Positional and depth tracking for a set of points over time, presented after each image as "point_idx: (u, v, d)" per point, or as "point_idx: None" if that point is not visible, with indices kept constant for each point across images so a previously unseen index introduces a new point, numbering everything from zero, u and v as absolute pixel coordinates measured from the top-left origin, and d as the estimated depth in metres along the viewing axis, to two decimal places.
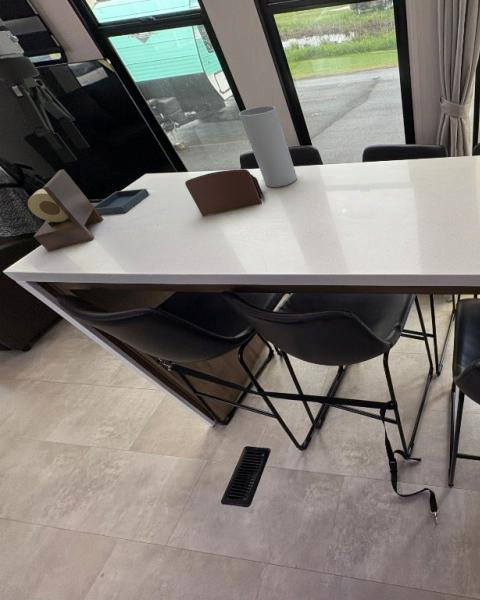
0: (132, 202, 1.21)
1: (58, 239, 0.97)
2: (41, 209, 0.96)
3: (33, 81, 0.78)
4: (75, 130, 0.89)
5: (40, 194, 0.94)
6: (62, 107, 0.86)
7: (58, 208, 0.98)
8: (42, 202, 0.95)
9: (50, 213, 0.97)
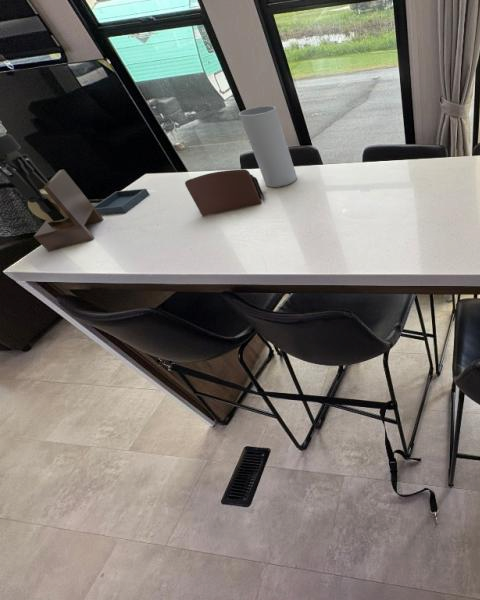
0: (132, 202, 1.21)
1: (58, 239, 0.97)
2: (41, 209, 0.96)
3: (15, 153, 0.90)
4: None
5: None
6: (43, 178, 0.97)
7: (58, 208, 0.98)
8: None
9: None
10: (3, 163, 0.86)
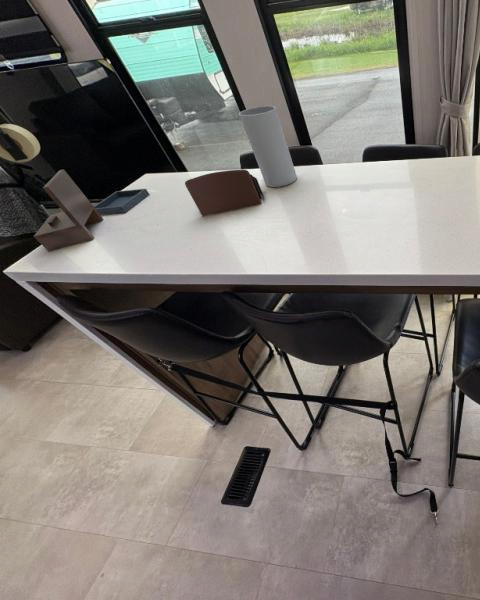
0: (132, 202, 1.21)
1: (58, 239, 0.97)
2: (1, 147, 0.88)
3: None
4: None
5: None
6: (4, 112, 0.89)
7: (20, 146, 0.89)
8: None
9: None
10: None
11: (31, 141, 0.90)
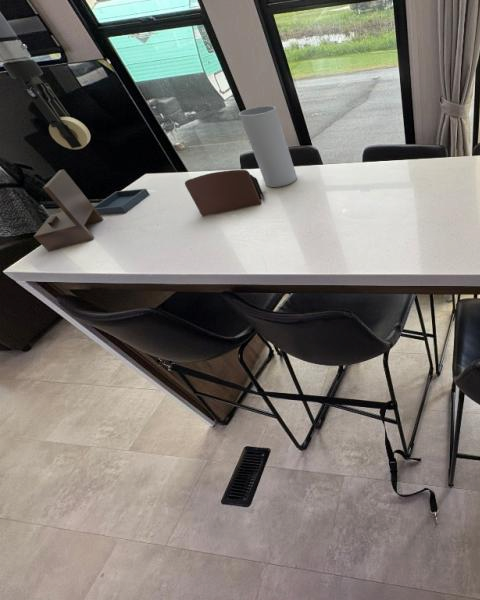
0: (132, 202, 1.21)
1: (58, 239, 0.97)
2: (61, 136, 1.04)
3: (38, 79, 0.98)
4: None
5: None
6: (62, 107, 1.06)
7: (76, 135, 1.06)
8: None
9: None
10: (28, 85, 0.94)
11: (85, 131, 1.07)
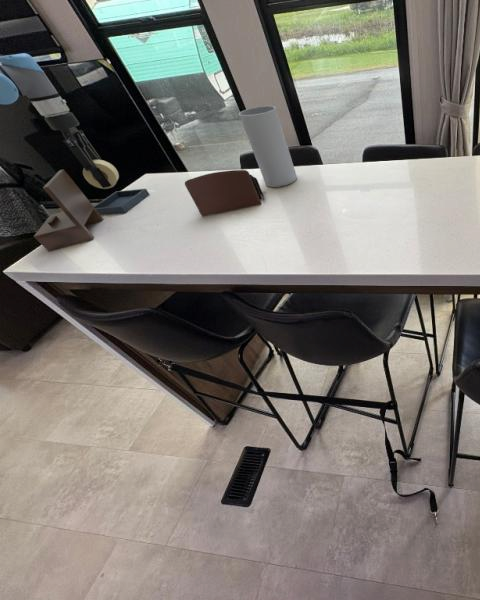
0: (132, 202, 1.21)
1: (58, 239, 0.97)
2: (93, 177, 1.14)
3: (74, 128, 1.08)
4: None
5: None
6: (94, 151, 1.15)
7: (107, 176, 1.16)
8: None
9: None
10: (66, 136, 1.04)
11: (114, 172, 1.17)
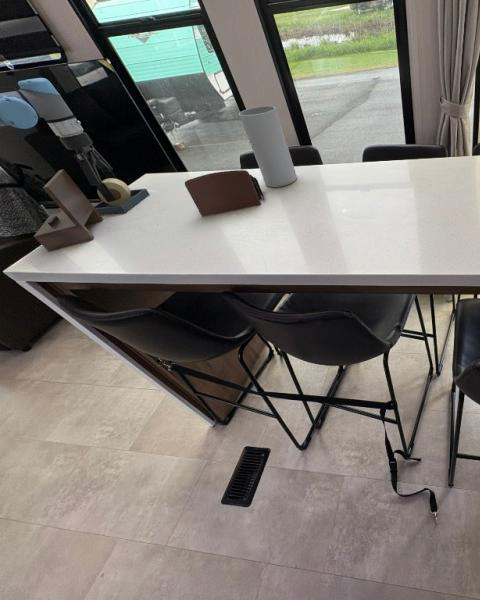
0: (132, 202, 1.21)
1: (58, 239, 0.97)
2: None
3: (87, 147, 1.12)
4: (113, 176, 1.23)
5: (107, 183, 1.17)
6: (104, 161, 1.21)
7: (120, 194, 1.20)
8: None
9: None
10: None
11: (127, 190, 1.21)
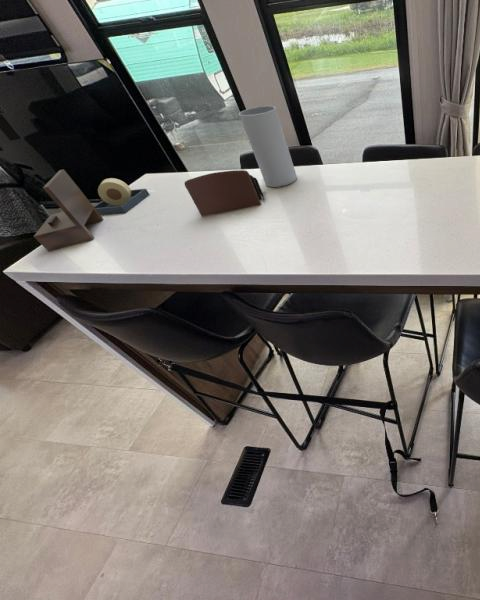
0: (132, 202, 1.21)
1: (58, 239, 0.97)
2: (107, 195, 1.19)
3: None
4: (6, 122, 0.92)
5: (109, 183, 1.17)
6: None
7: (120, 194, 1.20)
8: (109, 189, 1.18)
9: (113, 198, 1.20)
10: None
11: (128, 191, 1.22)
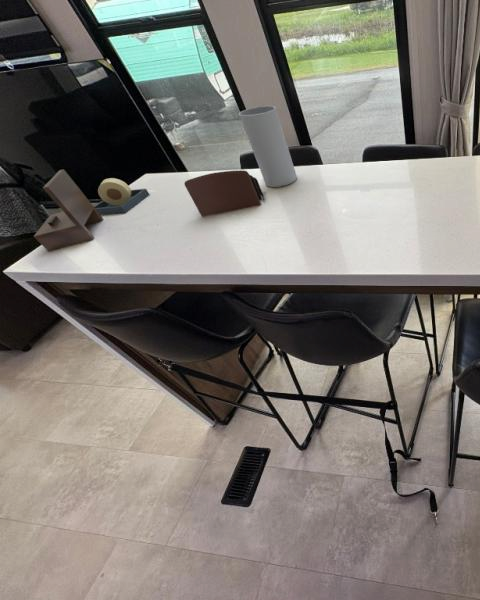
0: (132, 202, 1.21)
1: (58, 239, 0.97)
2: (107, 195, 1.19)
3: None
4: None
5: (109, 183, 1.17)
6: None
7: (120, 194, 1.21)
8: (109, 189, 1.18)
9: (113, 198, 1.20)
10: None
11: (128, 191, 1.22)
